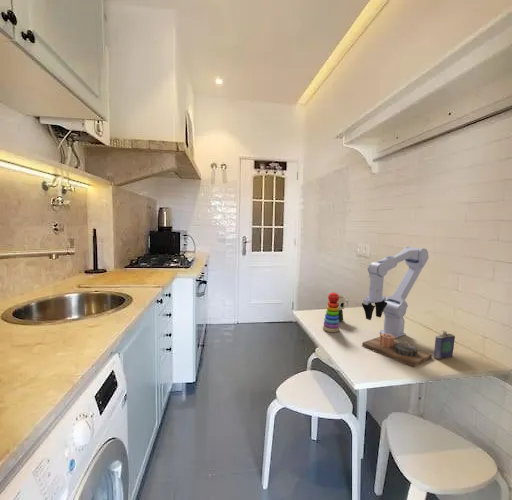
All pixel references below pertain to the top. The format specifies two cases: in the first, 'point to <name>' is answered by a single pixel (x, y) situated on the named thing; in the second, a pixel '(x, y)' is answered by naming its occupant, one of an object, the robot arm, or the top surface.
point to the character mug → (341, 306)
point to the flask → (444, 346)
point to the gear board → (399, 352)
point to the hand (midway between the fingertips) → (373, 318)
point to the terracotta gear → (387, 340)
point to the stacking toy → (332, 314)
